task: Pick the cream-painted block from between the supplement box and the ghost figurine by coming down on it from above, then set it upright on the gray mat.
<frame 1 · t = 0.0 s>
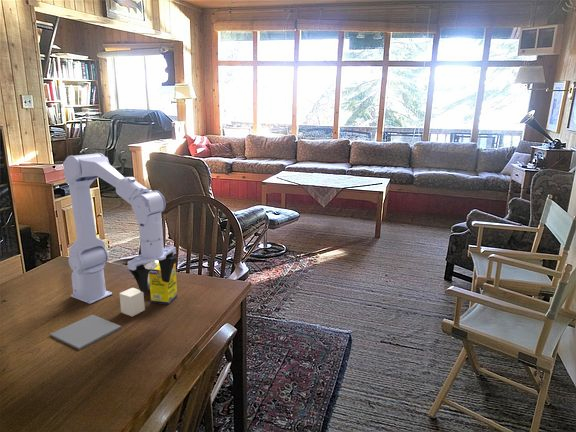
hand: (155, 286, 112), 10 cm above the table, tool pointing down, fingers open, 7 cm apart
supplement box: (164, 300, 127), on the table
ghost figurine: (156, 289, 134), on the table
gray mat: (86, 332, 108), on the table
cream block: (133, 311, 120), on the table
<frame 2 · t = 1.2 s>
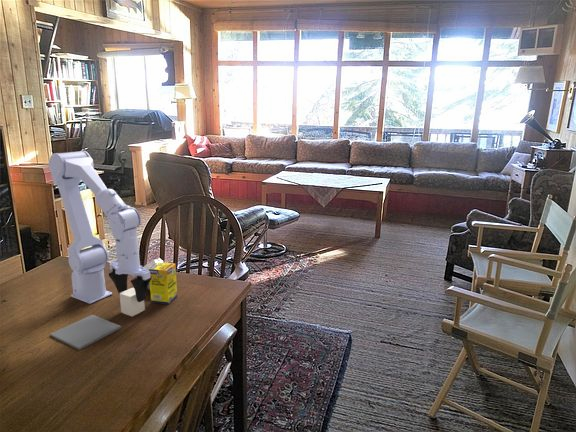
hand: (132, 297, 119), 4 cm above the table, tool pointing down, fingers open, 7 cm apart
nothing on the table moved.
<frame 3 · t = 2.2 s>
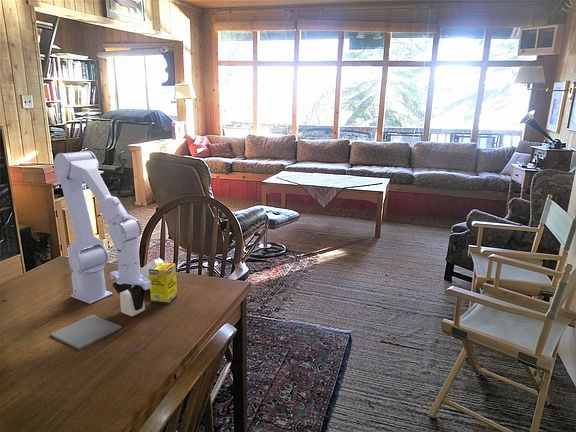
hand: (132, 306, 119), 1 cm above the table, tool pointing down, fingers closed on cream block, 4 cm apart
cream block: (133, 311, 120), on the table, touching gripper
everything else where it was.
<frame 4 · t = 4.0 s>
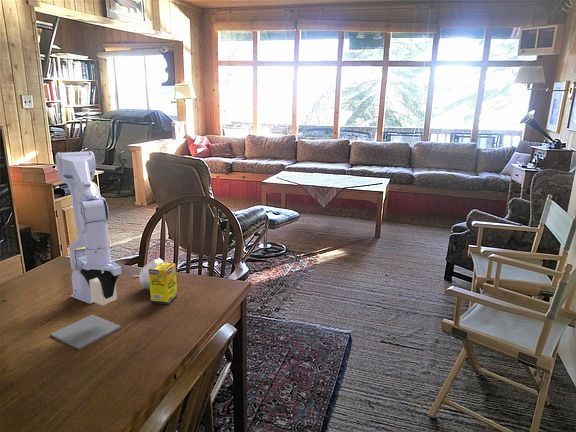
hand: (102, 294, 111), 8 cm above the table, tool pointing down, fingers closed on cream block, 4 cm apart
cream block: (104, 300, 111), point 7 cm above the table, touching gripper
everything else where it was.
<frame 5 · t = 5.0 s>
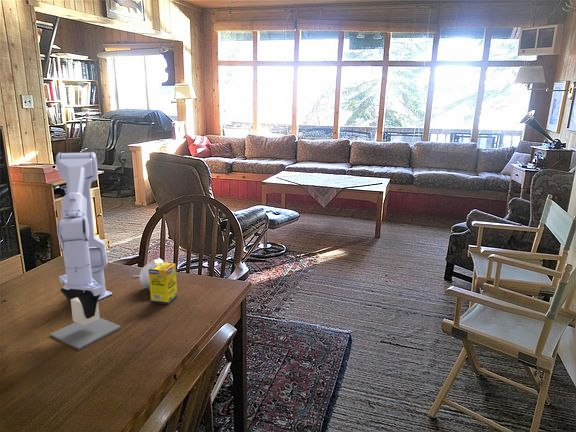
hand: (84, 314, 107), 5 cm above the table, tool pointing down, fingers closed on cream block, 4 cm apart
cream block: (86, 319, 108), point 3 cm above the table, touching gripper
everything else where it was.
when the fingers open (4 cm above the table, at t = 5.8 s): cream block drops 1 cm, resting on gray mat.
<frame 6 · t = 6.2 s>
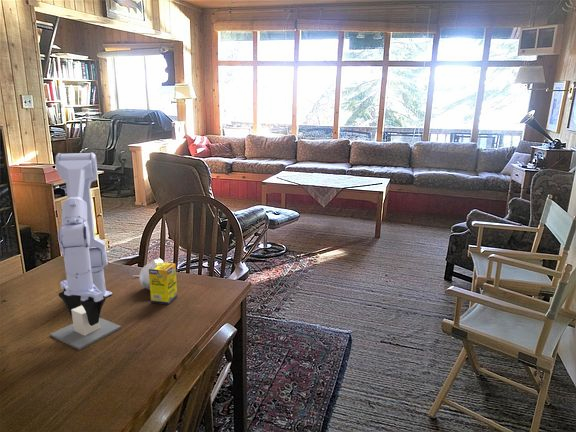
hand: (84, 319, 108), 4 cm above the table, tool pointing down, fingers open, 7 cm apart
cream block: (87, 329, 109), point 1 cm above the table, touching gray mat
everything else where it was.
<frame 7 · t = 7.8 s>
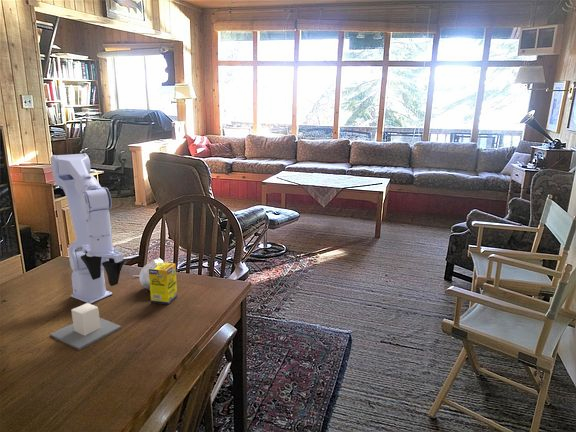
hand: (105, 281, 114), 10 cm above the table, tool pointing down, fingers open, 7 cm apart
nothing on the table moved.
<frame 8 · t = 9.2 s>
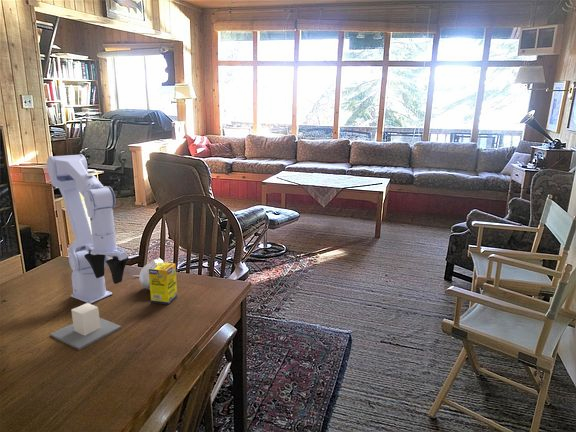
hand: (108, 279, 115), 10 cm above the table, tool pointing down, fingers open, 7 cm apart
nothing on the table moved.
at the end: cream block inside the target area on the gray mat (0.3 cm from its centre), point 0.6 cm above the gray mat's base; cream block tilted 0°; the gripper is holding nothing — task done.
